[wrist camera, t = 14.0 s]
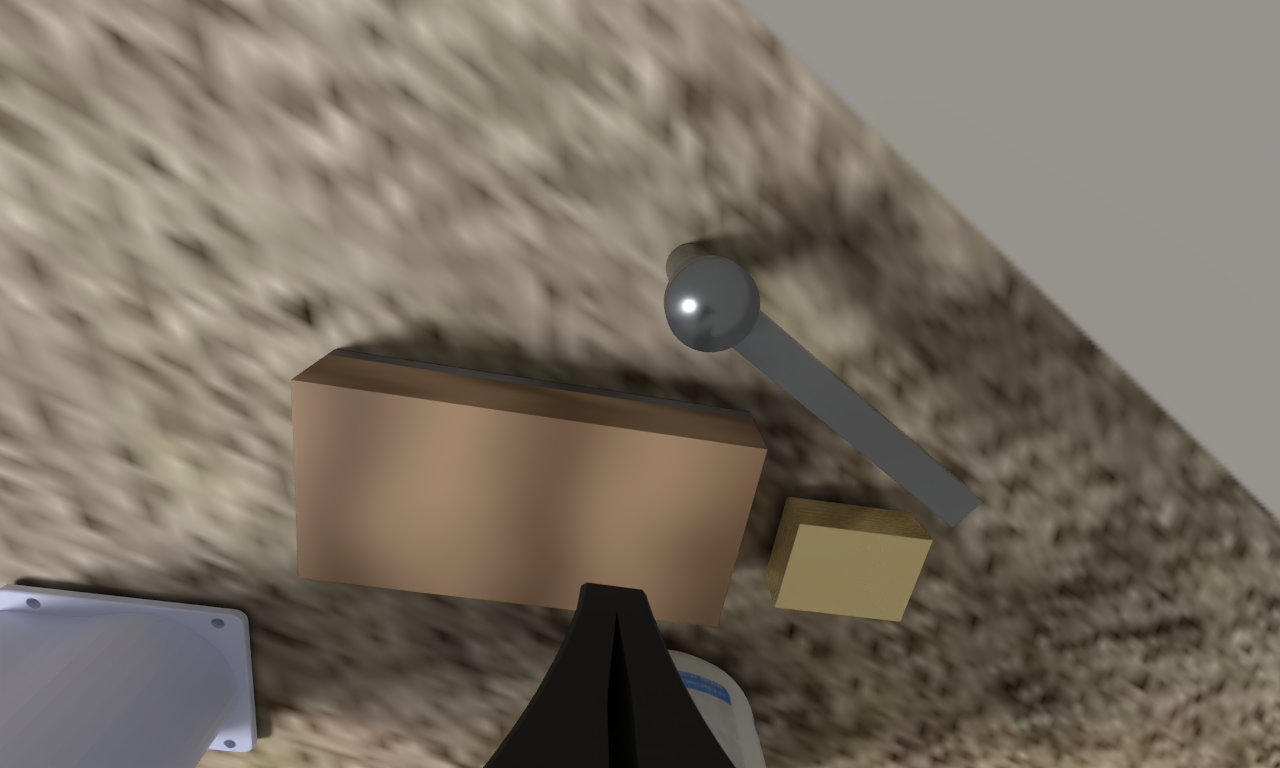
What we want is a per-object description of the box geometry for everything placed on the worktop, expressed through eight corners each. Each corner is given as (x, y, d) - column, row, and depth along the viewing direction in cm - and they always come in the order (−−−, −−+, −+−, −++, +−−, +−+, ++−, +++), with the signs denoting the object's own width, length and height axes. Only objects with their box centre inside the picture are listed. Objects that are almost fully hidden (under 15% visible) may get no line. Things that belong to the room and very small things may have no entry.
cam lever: (880, 469, 23) (953, 558, 18) (639, 272, 20) (646, 314, 15) (927, 425, 23) (1016, 506, 18) (686, 216, 20) (709, 238, 14)
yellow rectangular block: (900, 621, 23) (876, 580, 25) (932, 540, 22) (904, 504, 24) (774, 607, 23) (761, 566, 25) (799, 523, 21) (783, 488, 24)
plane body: (336, 527, 24) (298, 578, 21) (335, 349, 21) (290, 380, 18) (706, 573, 25) (717, 627, 22) (749, 411, 22) (767, 449, 19)
